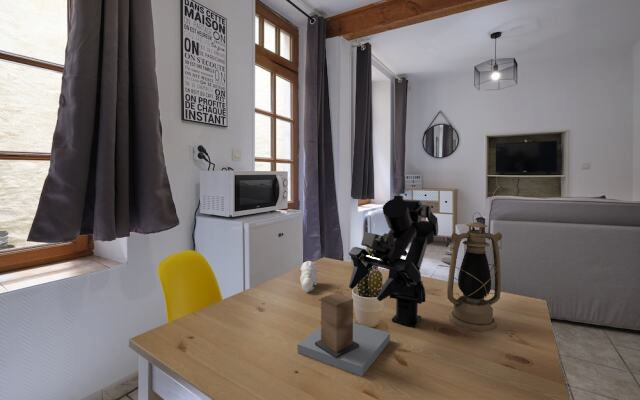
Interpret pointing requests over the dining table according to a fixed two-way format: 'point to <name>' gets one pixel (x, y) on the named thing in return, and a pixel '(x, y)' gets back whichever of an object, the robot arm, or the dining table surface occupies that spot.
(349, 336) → the walnut peg
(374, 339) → the slate board
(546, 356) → the dining table surface
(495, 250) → the lantern
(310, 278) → the white lumpy upright piece
